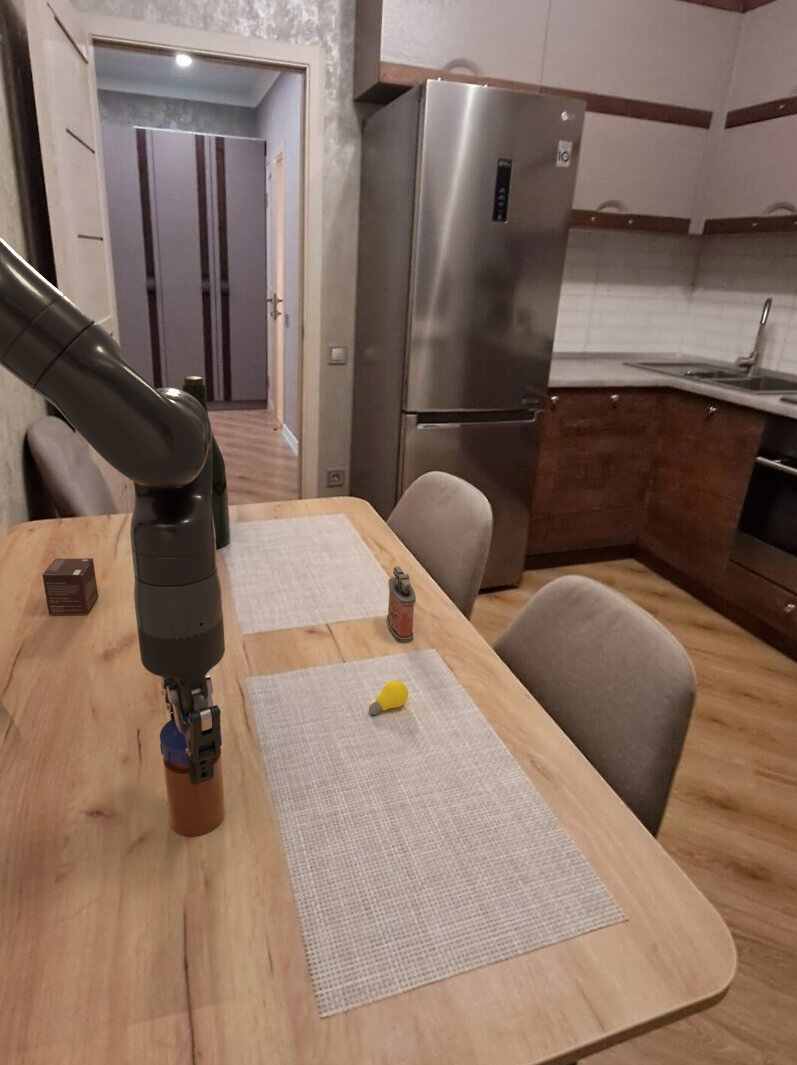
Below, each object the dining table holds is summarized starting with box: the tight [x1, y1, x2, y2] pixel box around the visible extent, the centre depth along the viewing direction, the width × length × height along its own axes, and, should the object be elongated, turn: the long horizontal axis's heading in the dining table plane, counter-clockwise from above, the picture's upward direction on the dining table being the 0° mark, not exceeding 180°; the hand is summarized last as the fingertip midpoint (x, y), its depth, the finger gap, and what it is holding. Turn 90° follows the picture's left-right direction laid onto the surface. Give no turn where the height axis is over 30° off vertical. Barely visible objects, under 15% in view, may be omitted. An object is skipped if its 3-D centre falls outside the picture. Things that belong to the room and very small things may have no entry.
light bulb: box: [368, 680, 409, 716], centre depth 88 cm, size 3×6×4 cm, turn 128°
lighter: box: [386, 565, 417, 644], centre depth 105 cm, size 8×3×10 cm, turn 17°
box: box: [42, 557, 99, 616], centre depth 107 cm, size 6×6×7 cm
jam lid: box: [159, 716, 223, 765], centre depth 66 cm, size 6×6×2 cm
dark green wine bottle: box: [181, 375, 231, 549], centre depth 129 cm, size 10×10×33 cm
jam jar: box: [162, 750, 226, 837], centre depth 68 cm, size 6×6×10 cm
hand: (192, 759), depth 67 cm, fingers closed on jam lid, 5 cm apart
